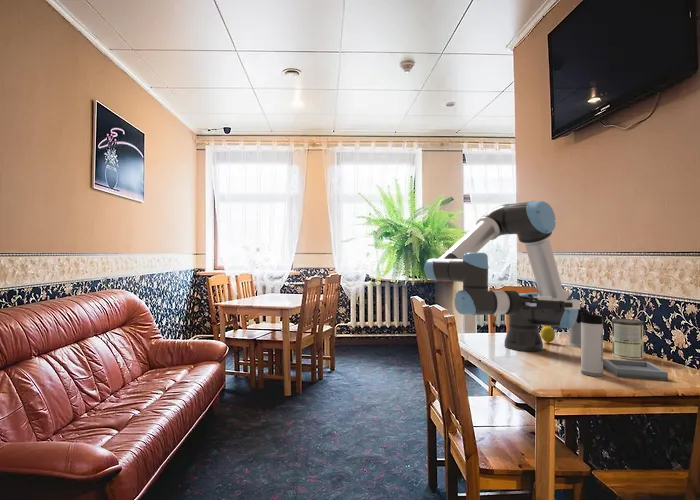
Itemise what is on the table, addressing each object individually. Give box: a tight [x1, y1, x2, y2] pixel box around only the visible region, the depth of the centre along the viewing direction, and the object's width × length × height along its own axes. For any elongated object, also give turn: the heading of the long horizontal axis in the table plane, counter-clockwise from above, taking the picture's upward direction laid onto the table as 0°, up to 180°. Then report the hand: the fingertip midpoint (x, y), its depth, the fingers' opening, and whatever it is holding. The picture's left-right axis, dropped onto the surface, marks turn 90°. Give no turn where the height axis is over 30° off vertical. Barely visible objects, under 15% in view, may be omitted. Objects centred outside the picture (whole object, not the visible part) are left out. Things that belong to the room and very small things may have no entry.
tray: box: [603, 358, 669, 381], centre depth 138 cm, size 14×14×2 cm
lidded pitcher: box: [567, 309, 602, 349], centre depth 181 cm, size 9×14×15 cm, turn 84°
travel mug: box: [580, 312, 604, 377], centre depth 136 cm, size 6×7×20 cm
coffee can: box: [611, 318, 645, 361], centre depth 161 cm, size 10×10×14 cm
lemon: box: [540, 325, 556, 344], centre depth 186 cm, size 6×6×8 cm
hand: (564, 302), depth 135 cm, fingers open, 13 cm apart
